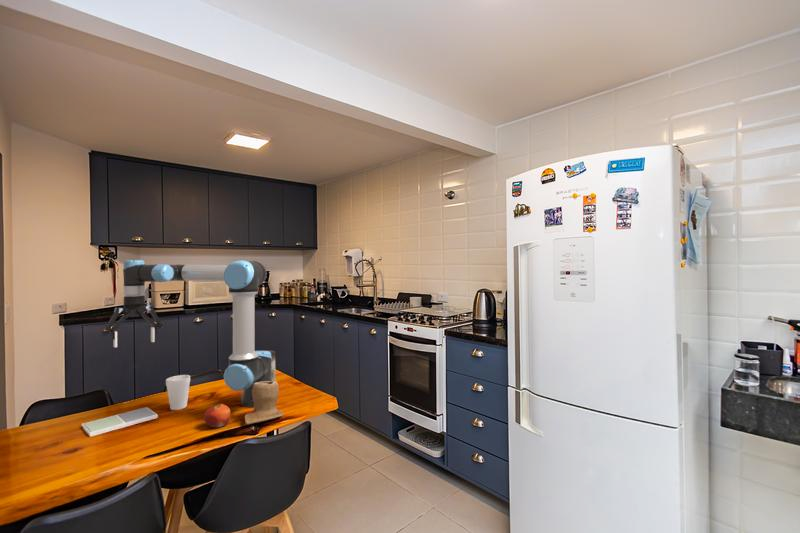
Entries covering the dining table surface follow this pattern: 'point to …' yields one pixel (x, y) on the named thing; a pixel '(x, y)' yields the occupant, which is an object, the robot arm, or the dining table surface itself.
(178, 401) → the foam cup
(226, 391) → the dining table surface
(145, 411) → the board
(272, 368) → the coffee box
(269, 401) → the stone cup
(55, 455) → the dining table surface
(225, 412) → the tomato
